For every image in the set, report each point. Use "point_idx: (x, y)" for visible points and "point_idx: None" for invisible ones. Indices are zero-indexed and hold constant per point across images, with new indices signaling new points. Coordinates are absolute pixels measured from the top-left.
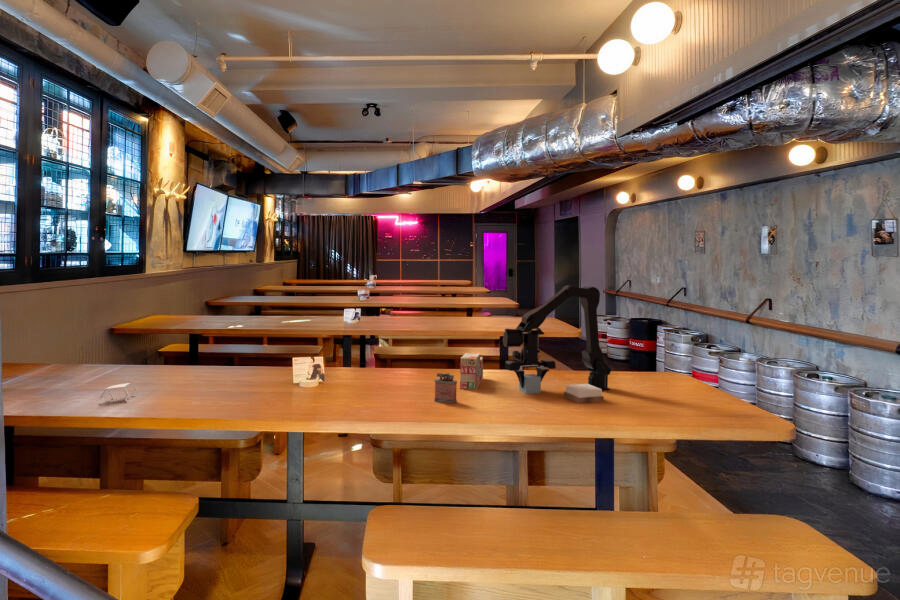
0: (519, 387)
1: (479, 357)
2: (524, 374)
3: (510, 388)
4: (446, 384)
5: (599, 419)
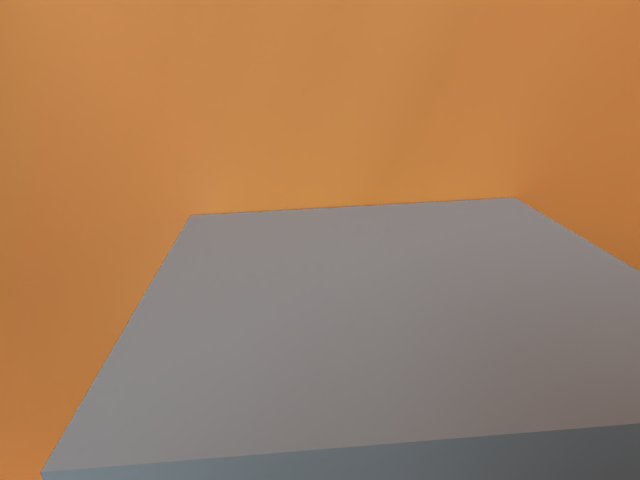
0: (181, 239)
1: None
2: (323, 473)
3: (21, 5)
4: None
5: None
